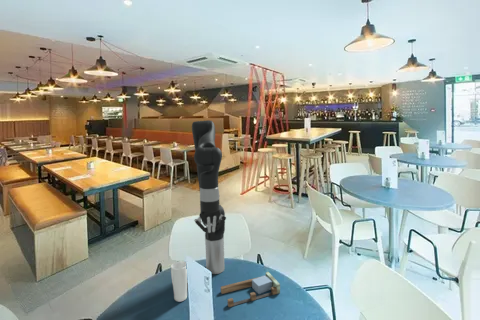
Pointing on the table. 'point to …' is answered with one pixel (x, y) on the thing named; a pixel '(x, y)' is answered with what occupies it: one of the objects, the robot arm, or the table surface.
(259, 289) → the brick
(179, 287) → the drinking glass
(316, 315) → the table surface
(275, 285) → the lane
